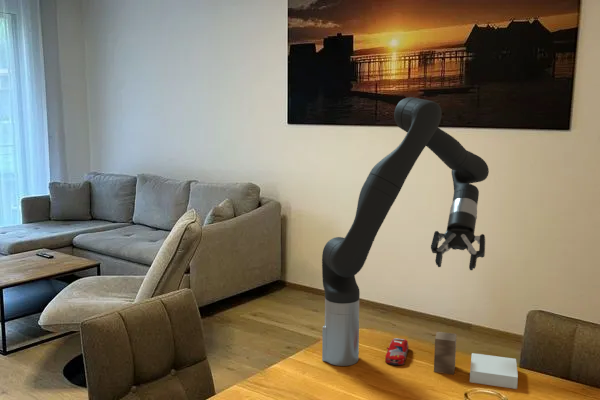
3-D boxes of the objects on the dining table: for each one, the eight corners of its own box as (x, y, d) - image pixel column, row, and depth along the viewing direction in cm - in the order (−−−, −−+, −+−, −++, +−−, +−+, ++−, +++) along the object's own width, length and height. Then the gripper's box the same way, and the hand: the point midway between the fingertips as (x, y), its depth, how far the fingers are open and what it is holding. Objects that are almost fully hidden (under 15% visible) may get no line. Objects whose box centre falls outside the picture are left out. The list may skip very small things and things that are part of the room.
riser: (469, 382, 138) (470, 370, 137) (471, 363, 148) (471, 353, 148) (517, 389, 134) (517, 377, 134) (515, 369, 145) (516, 358, 144)
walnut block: (433, 371, 143) (435, 338, 142) (435, 363, 148) (436, 331, 147) (453, 374, 142) (455, 341, 141) (455, 366, 147) (456, 333, 145)
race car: (403, 368, 146) (404, 354, 145) (383, 365, 148) (383, 351, 147) (410, 349, 158) (411, 335, 158) (391, 346, 160) (391, 333, 159)
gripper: (435, 208, 159) (426, 258, 151) (487, 211, 153) (480, 263, 145) (439, 223, 165) (430, 271, 157) (489, 226, 159) (483, 276, 150)
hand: (454, 267), depth 151 cm, fingers open, 8 cm apart
